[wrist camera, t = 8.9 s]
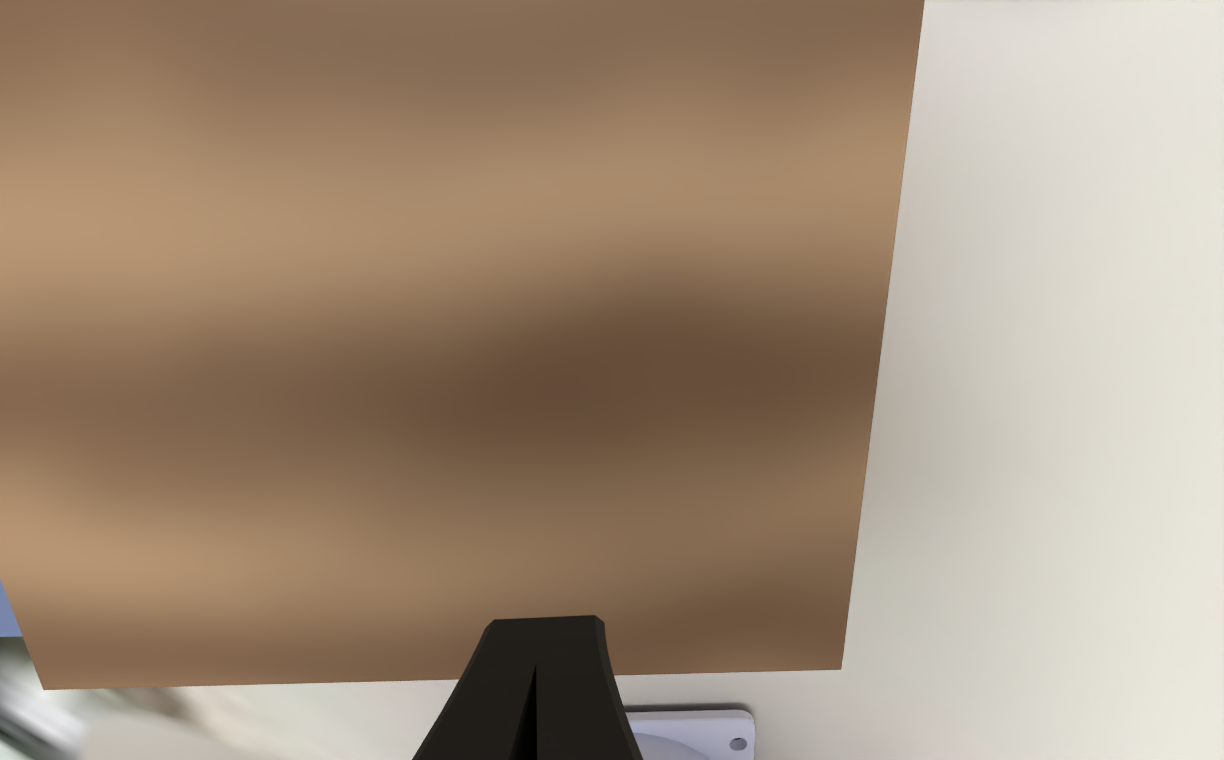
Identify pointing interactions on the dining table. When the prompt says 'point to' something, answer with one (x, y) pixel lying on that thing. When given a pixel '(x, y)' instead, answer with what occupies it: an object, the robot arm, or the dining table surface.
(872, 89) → the brown wooden slab
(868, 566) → the dining table surface
